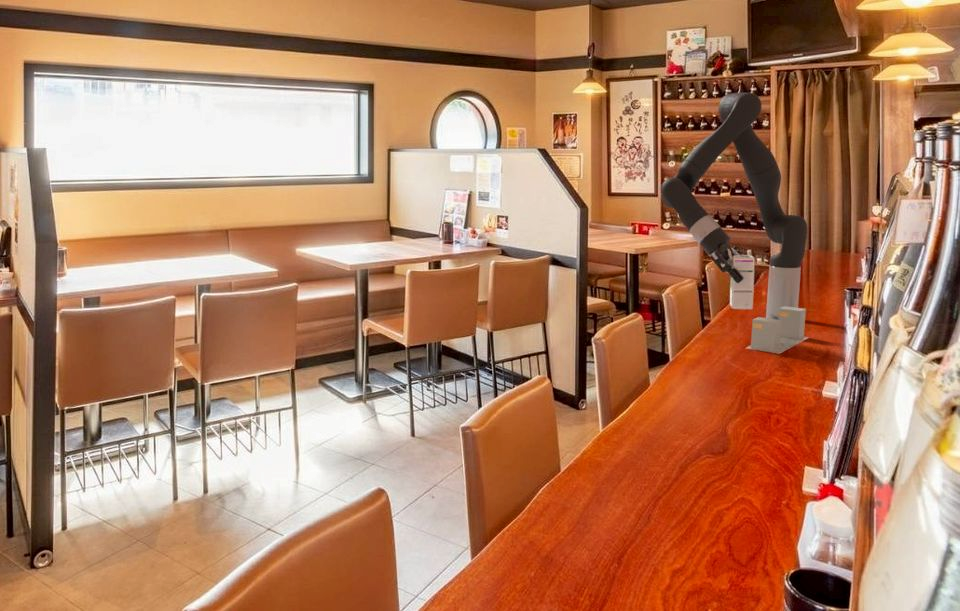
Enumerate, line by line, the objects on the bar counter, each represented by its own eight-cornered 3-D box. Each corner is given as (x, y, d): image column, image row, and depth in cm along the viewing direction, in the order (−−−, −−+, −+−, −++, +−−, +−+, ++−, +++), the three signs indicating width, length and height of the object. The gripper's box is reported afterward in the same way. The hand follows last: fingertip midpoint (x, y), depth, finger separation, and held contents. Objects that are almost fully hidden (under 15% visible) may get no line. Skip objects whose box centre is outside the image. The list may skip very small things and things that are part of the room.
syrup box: (753, 309, 208) (756, 257, 205) (730, 309, 209) (733, 257, 206) (750, 305, 213) (753, 254, 210) (728, 304, 214) (731, 254, 211)
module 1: (756, 346, 202) (758, 317, 200) (779, 349, 198) (781, 320, 196) (750, 349, 199) (752, 319, 197) (773, 352, 195) (775, 322, 193)
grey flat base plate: (776, 336, 217) (776, 332, 217) (808, 341, 211) (809, 337, 211) (744, 352, 200) (745, 348, 200) (778, 358, 194) (779, 353, 194)
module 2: (782, 333, 216) (784, 306, 214) (803, 336, 212) (805, 308, 210) (777, 336, 213) (779, 308, 211) (798, 339, 209) (800, 311, 207)
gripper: (707, 228, 206) (746, 274, 201) (729, 224, 217) (767, 267, 211) (688, 246, 211) (726, 291, 205) (711, 241, 221) (747, 283, 216)
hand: (747, 279), depth 208 cm, fingers closed on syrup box, 8 cm apart
